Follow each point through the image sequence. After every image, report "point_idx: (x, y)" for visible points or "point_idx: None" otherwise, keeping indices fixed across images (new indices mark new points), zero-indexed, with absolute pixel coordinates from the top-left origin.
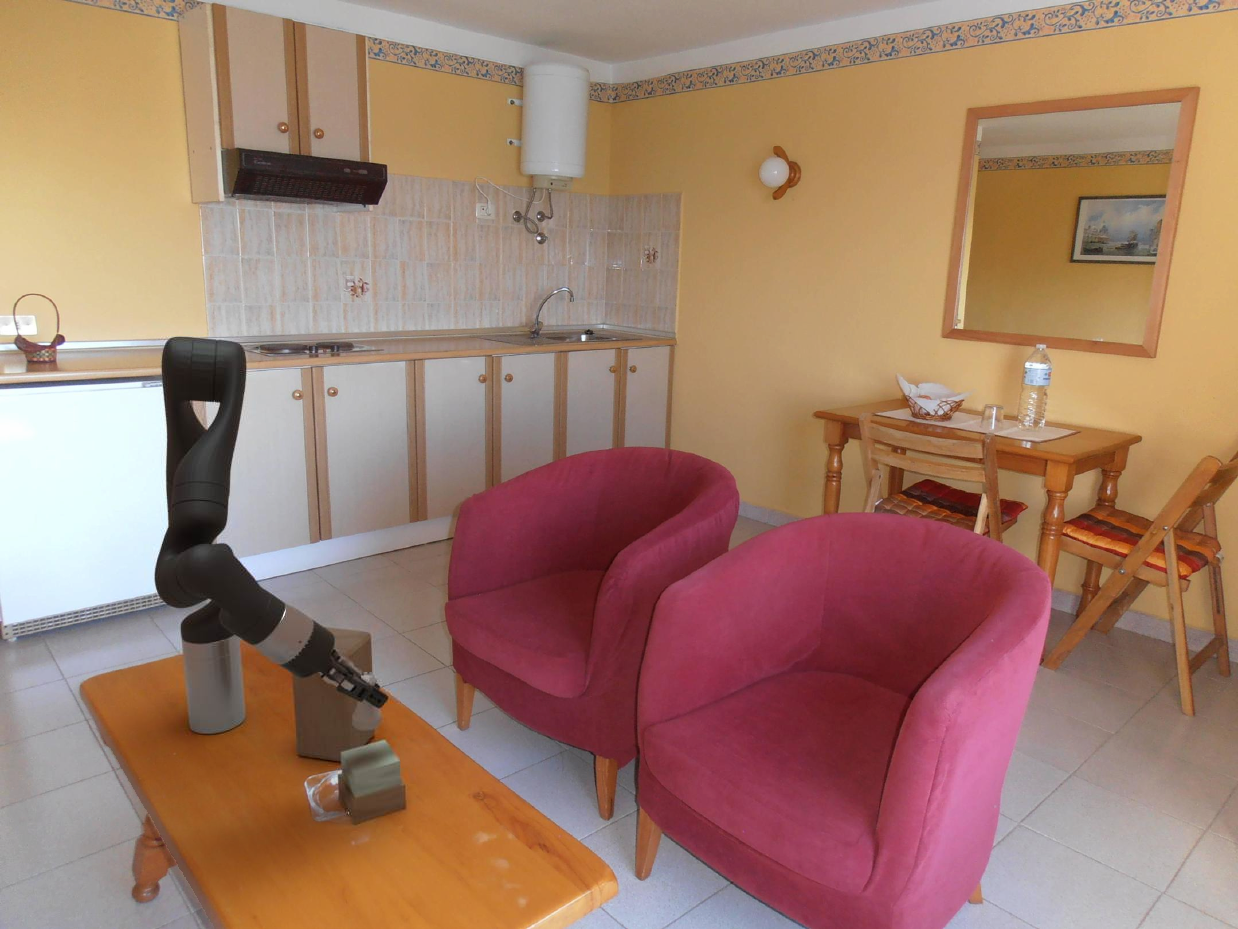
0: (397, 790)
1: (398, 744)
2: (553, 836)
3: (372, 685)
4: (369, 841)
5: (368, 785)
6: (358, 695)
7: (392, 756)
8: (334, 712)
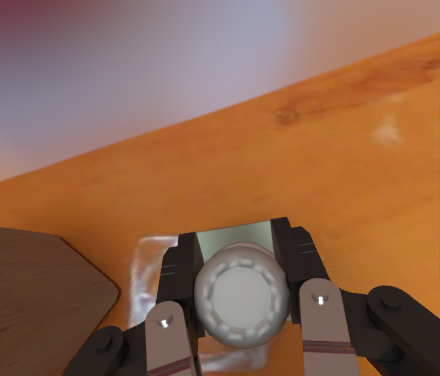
0: None
1: (100, 203)
2: (414, 47)
3: (291, 273)
4: None
5: None
6: (399, 358)
7: (262, 230)
8: (54, 329)
